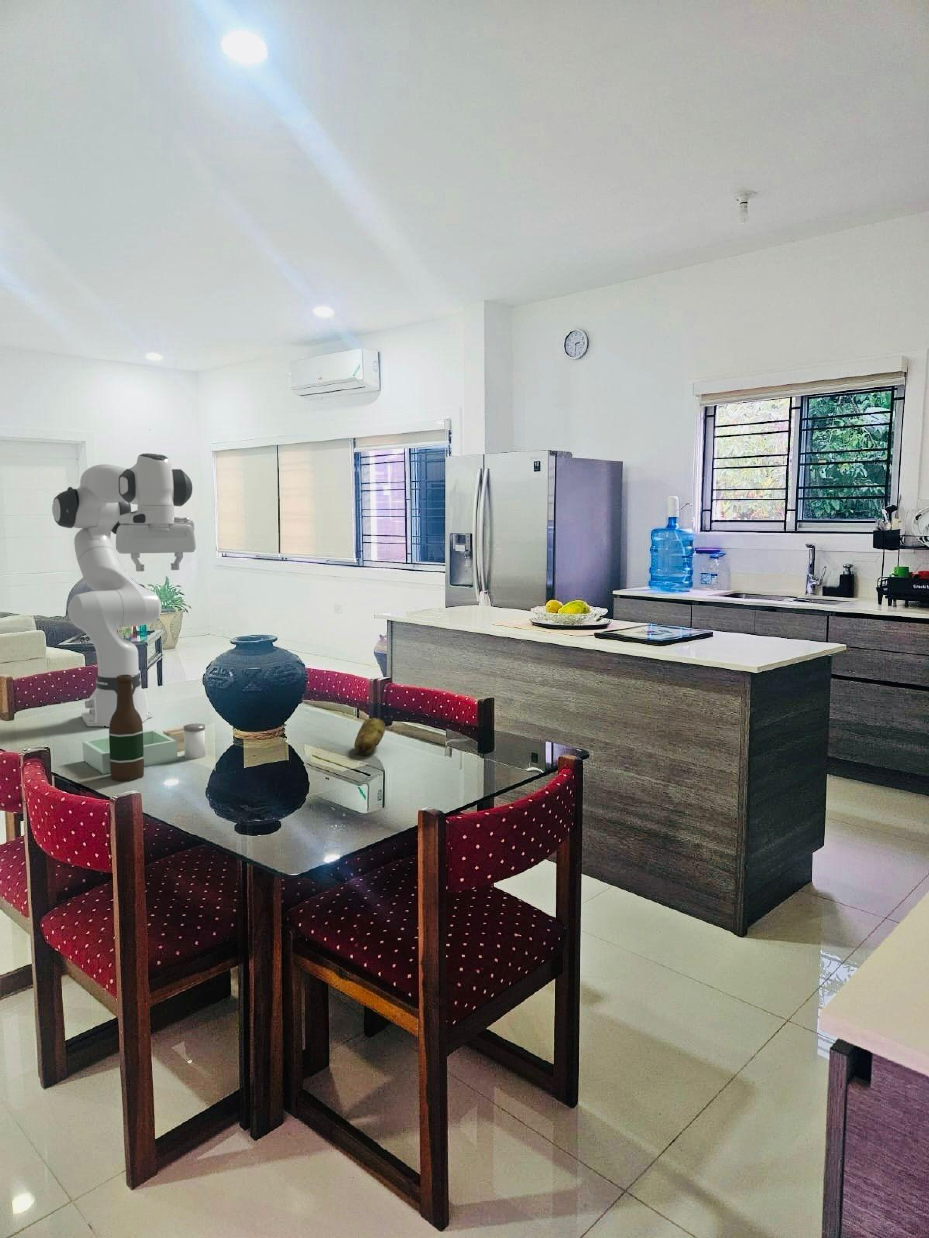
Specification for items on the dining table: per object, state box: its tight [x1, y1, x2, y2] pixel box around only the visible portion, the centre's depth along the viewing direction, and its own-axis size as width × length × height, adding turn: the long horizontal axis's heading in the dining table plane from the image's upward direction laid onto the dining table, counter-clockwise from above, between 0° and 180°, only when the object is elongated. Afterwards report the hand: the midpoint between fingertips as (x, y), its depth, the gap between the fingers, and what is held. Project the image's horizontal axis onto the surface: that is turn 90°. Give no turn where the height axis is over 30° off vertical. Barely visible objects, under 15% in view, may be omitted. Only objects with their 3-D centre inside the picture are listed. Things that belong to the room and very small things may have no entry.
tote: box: [82, 729, 178, 775], centre depth 202 cm, size 14×18×5 cm
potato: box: [354, 717, 386, 756], centre depth 214 cm, size 8×13×8 cm, turn 152°
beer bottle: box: [108, 675, 145, 782], centre depth 189 cm, size 8×8×24 cm
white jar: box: [182, 723, 206, 760], centre depth 207 cm, size 5×5×8 cm
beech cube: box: [162, 727, 185, 753], centre depth 213 cm, size 5×5×5 cm
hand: (157, 570), depth 212 cm, fingers open, 8 cm apart
